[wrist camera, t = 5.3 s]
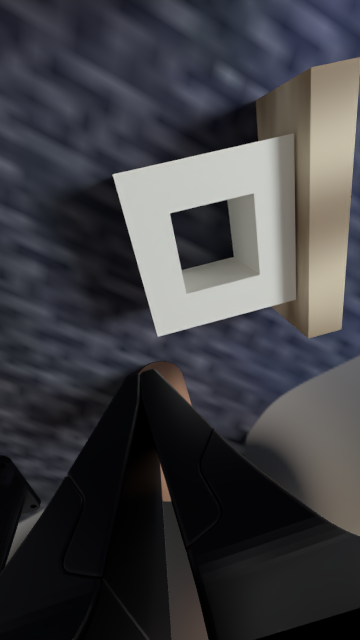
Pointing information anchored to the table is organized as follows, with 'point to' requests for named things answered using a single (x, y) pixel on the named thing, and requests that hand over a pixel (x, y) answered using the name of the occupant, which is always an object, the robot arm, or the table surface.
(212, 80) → the table surface
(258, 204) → the hole block
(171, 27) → the table surface
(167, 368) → the dowel
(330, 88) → the backstop wall
